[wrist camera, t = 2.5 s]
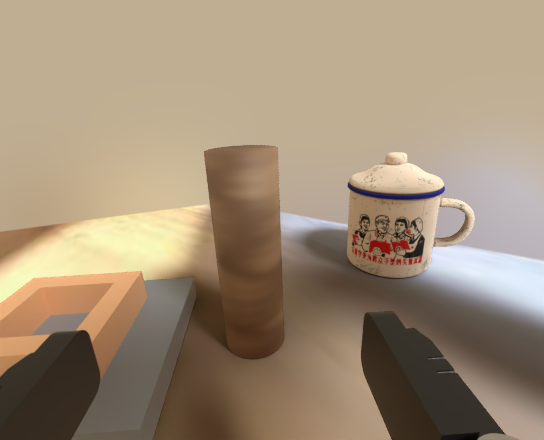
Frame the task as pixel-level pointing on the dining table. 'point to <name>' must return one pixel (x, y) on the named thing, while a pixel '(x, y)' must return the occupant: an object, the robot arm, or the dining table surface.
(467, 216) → the teacup with lid
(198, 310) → the dining table surface
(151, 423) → the collar base
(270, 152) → the walnut peg
